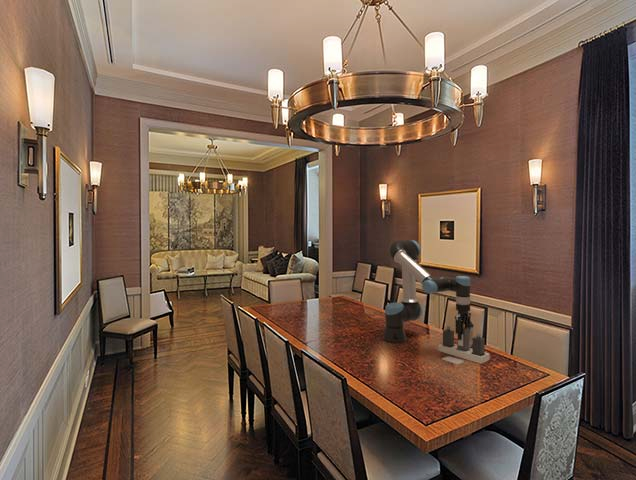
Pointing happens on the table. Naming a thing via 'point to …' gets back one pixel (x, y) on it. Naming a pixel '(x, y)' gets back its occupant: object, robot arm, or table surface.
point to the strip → (474, 354)
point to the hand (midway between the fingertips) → (463, 344)
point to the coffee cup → (470, 334)
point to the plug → (464, 339)
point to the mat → (453, 360)
